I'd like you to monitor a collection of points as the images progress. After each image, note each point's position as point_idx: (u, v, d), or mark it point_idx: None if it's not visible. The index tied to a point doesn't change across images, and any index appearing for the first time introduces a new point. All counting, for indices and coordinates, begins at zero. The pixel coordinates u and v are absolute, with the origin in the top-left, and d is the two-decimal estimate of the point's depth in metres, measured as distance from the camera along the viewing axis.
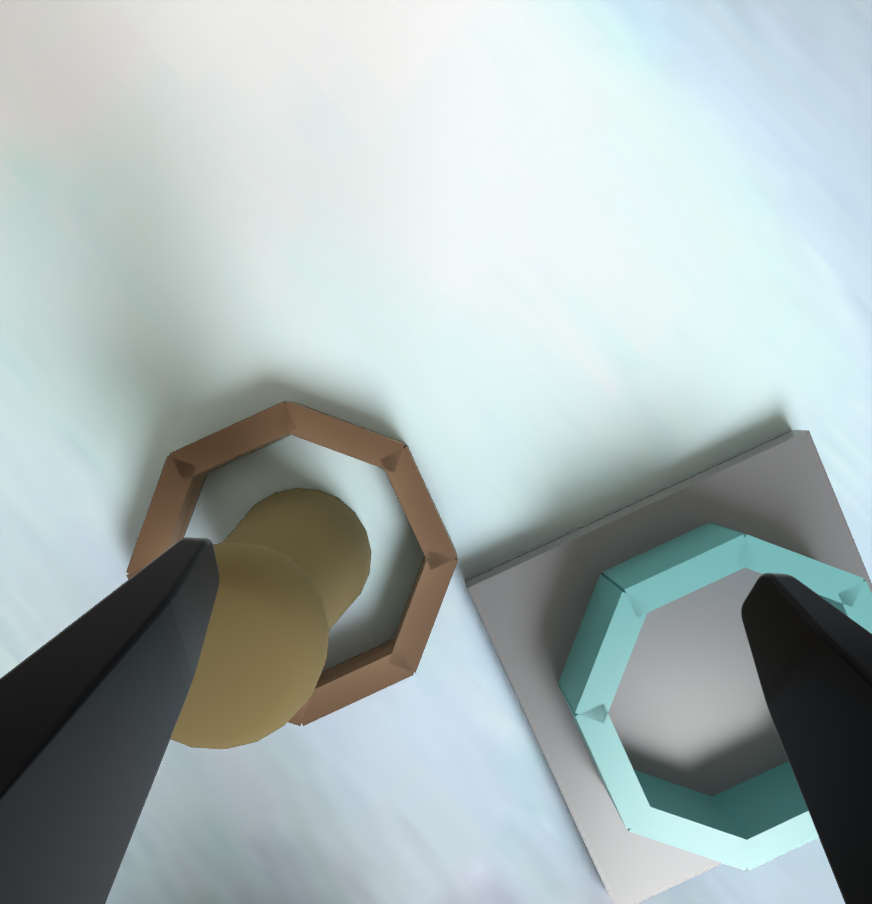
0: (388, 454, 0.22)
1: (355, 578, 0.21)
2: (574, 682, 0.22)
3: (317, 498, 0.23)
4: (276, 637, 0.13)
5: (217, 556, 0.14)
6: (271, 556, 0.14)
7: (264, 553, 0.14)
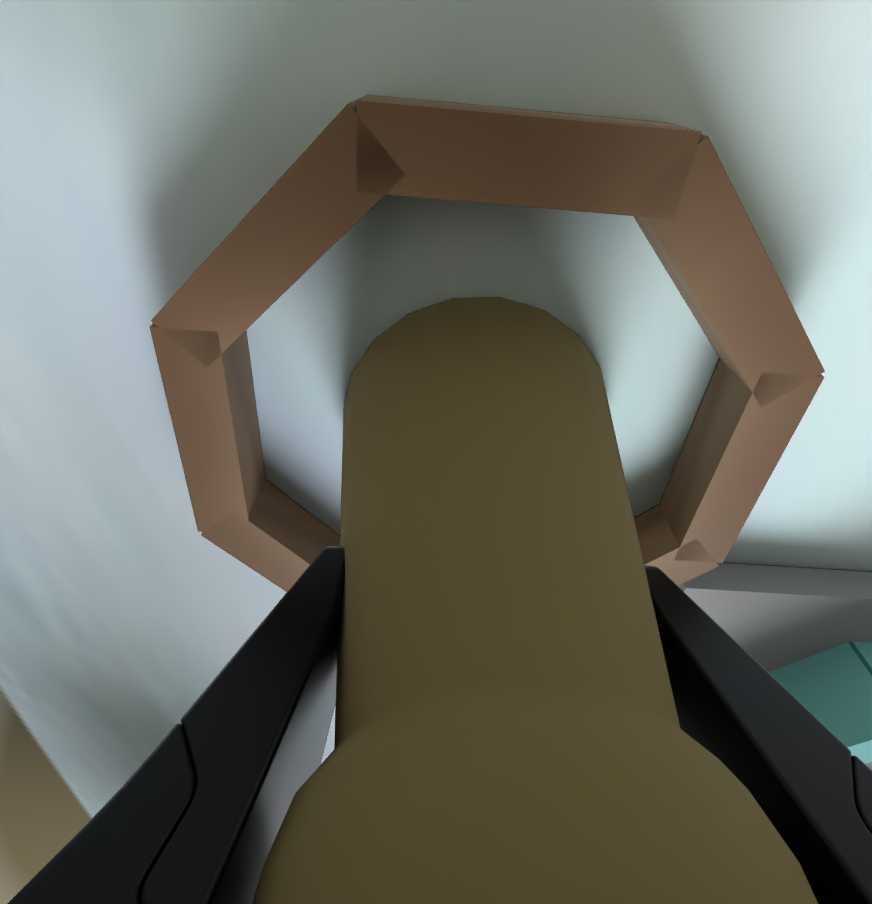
0: (780, 372, 0.10)
1: None
2: None
3: (590, 373, 0.11)
4: None
5: None
6: None
7: None
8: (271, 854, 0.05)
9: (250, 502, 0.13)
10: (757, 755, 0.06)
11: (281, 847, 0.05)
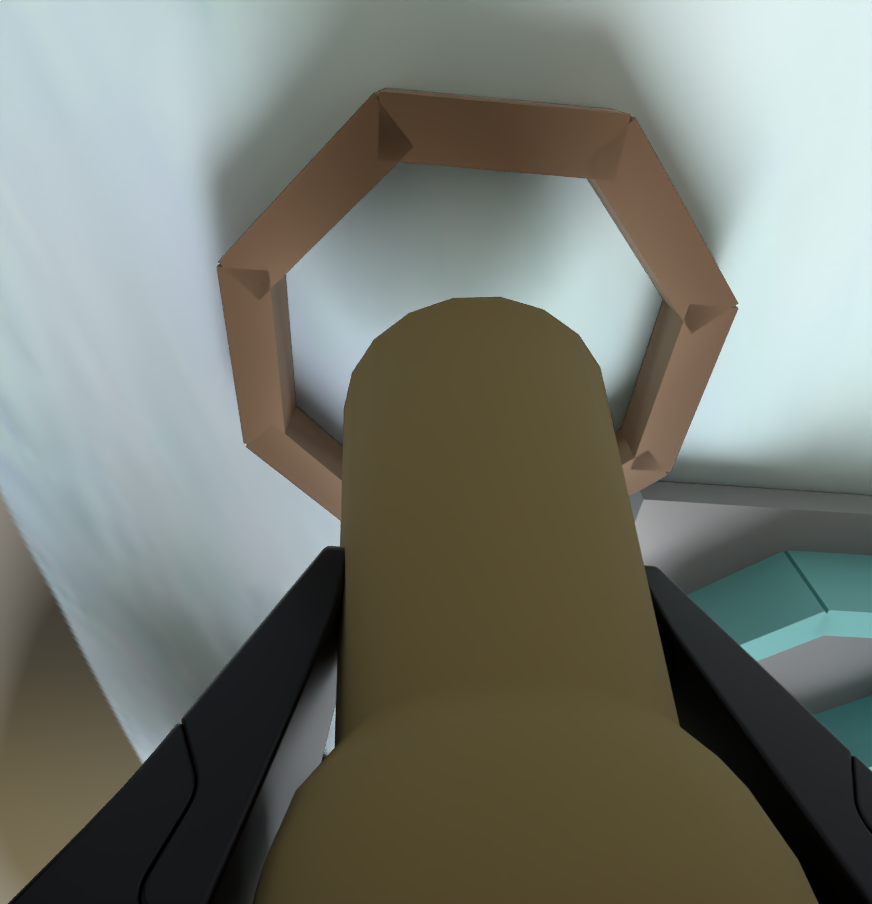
0: (704, 304, 0.13)
1: None
2: None
3: (590, 372, 0.11)
4: None
5: None
6: None
7: None
8: (271, 851, 0.05)
9: (286, 419, 0.15)
10: (756, 755, 0.06)
11: (281, 844, 0.05)
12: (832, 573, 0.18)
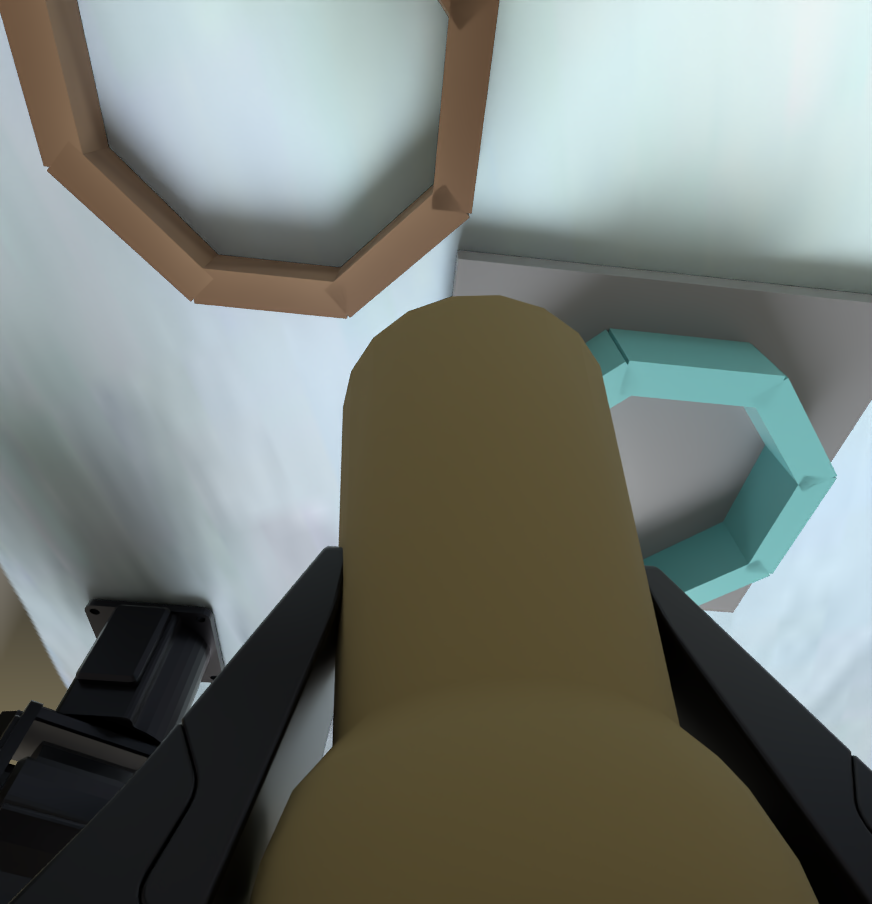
0: None
1: None
2: None
3: (590, 371, 0.11)
4: None
5: None
6: None
7: None
8: (268, 851, 0.05)
9: (85, 140, 0.16)
10: (756, 755, 0.06)
11: (278, 844, 0.05)
12: (646, 343, 0.18)
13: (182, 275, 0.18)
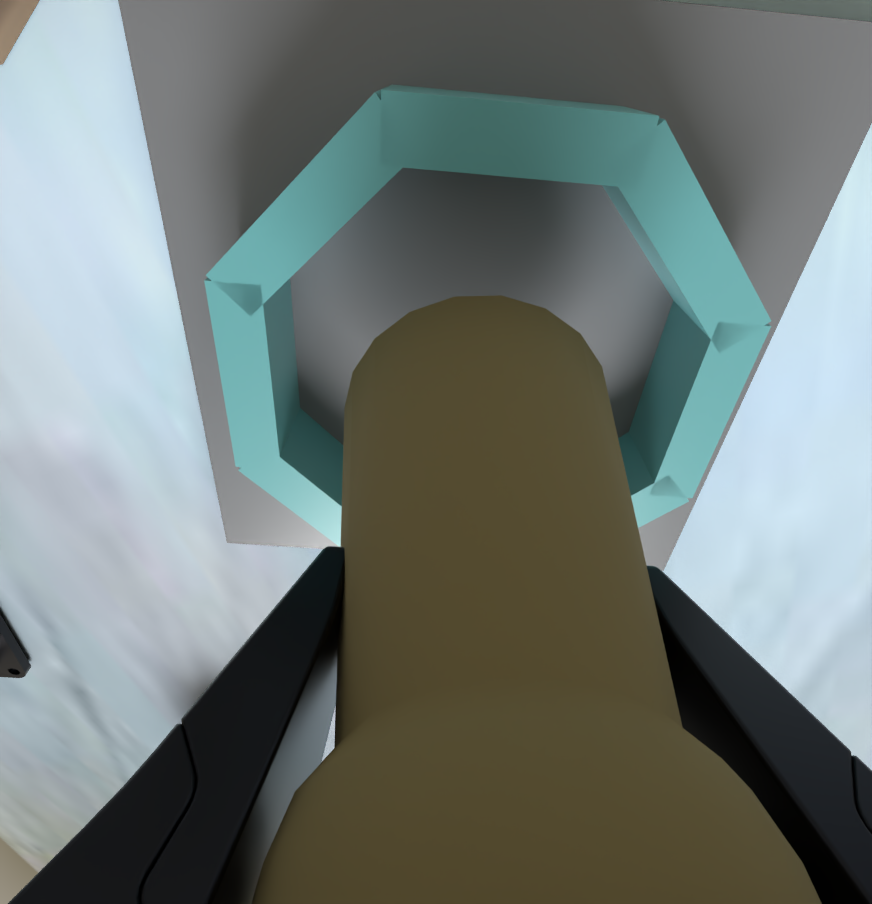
0: None
1: None
2: None
3: (592, 372, 0.11)
4: None
5: None
6: None
7: None
8: (271, 853, 0.05)
9: None
10: (756, 755, 0.06)
11: (281, 846, 0.05)
12: (439, 91, 0.11)
13: None
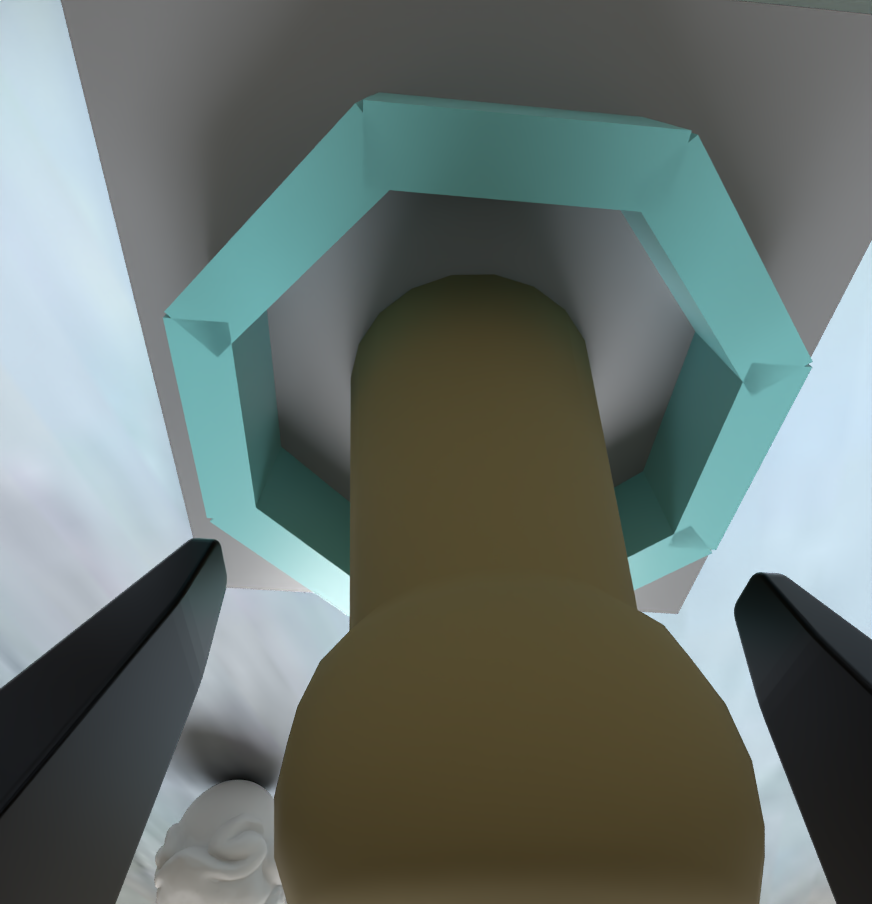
0: None
1: None
2: None
3: (574, 343, 0.12)
4: None
5: (684, 769, 0.04)
6: (737, 737, 0.05)
7: (729, 727, 0.05)
8: (303, 698, 0.06)
9: None
10: None
11: (312, 690, 0.06)
12: (432, 100, 0.09)
13: None
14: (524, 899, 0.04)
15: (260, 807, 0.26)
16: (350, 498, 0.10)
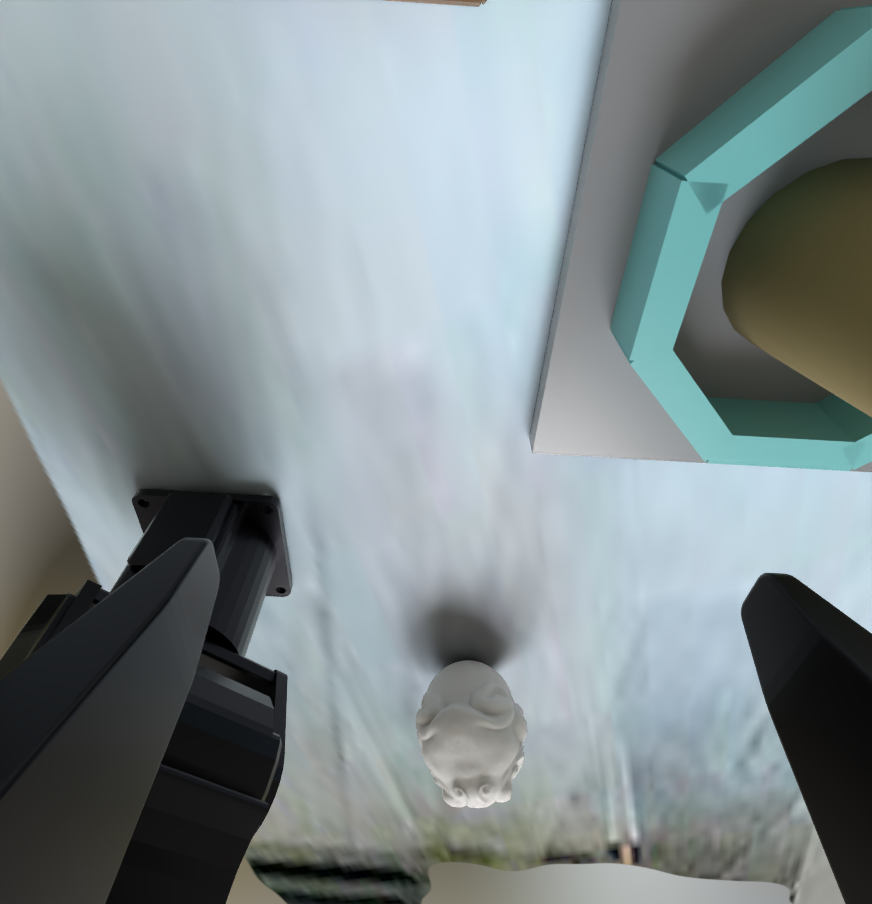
0: None
1: None
2: (698, 147, 0.14)
3: None
4: None
5: None
6: None
7: None
8: None
9: None
10: None
11: None
12: None
13: None
14: None
15: (499, 678, 0.30)
16: (826, 309, 0.14)
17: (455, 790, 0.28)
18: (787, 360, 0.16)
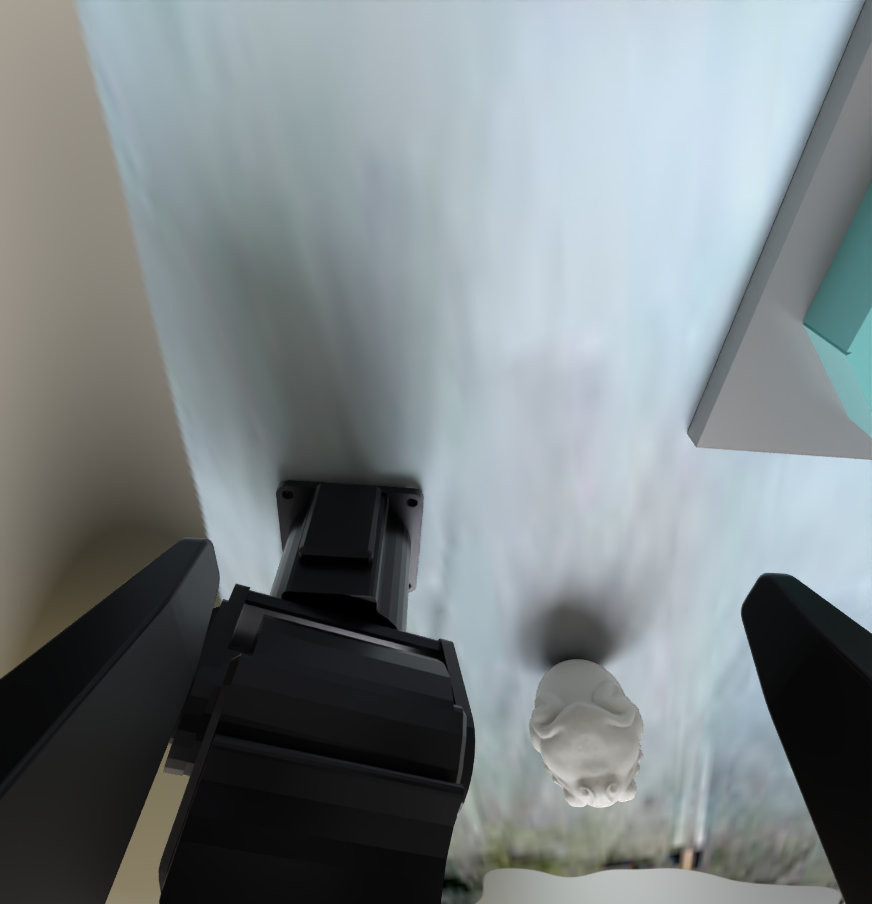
0: None
1: None
2: None
3: None
4: None
5: None
6: None
7: None
8: None
9: None
10: None
11: None
12: None
13: None
14: None
15: (613, 677, 0.30)
16: None
17: (580, 789, 0.28)
18: None
